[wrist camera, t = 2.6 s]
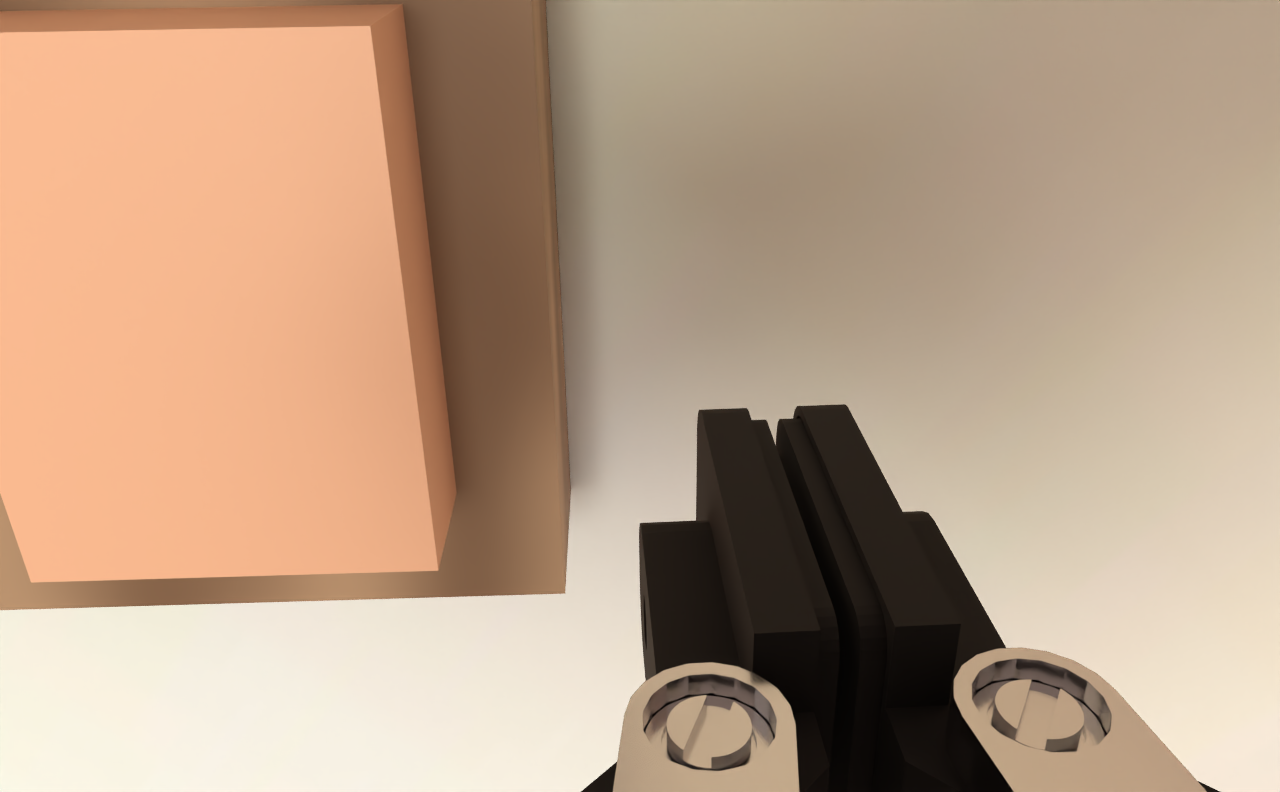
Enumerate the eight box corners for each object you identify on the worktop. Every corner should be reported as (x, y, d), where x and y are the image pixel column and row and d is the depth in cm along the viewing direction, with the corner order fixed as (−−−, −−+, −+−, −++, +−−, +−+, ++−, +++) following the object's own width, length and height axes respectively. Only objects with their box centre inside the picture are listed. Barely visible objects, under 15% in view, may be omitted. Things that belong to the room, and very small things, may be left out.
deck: (536, -173, 19) (520, -181, 15) (570, 490, 25) (565, 593, 21) (-372, -159, 18) (-607, -166, 15) (-104, 508, 25) (-222, 616, 21)
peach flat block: (402, 4, 16) (370, 25, 14) (456, 493, 20) (438, 570, 18) (-53, 11, 16) (-159, 35, 14) (95, 503, 20) (30, 582, 18)
